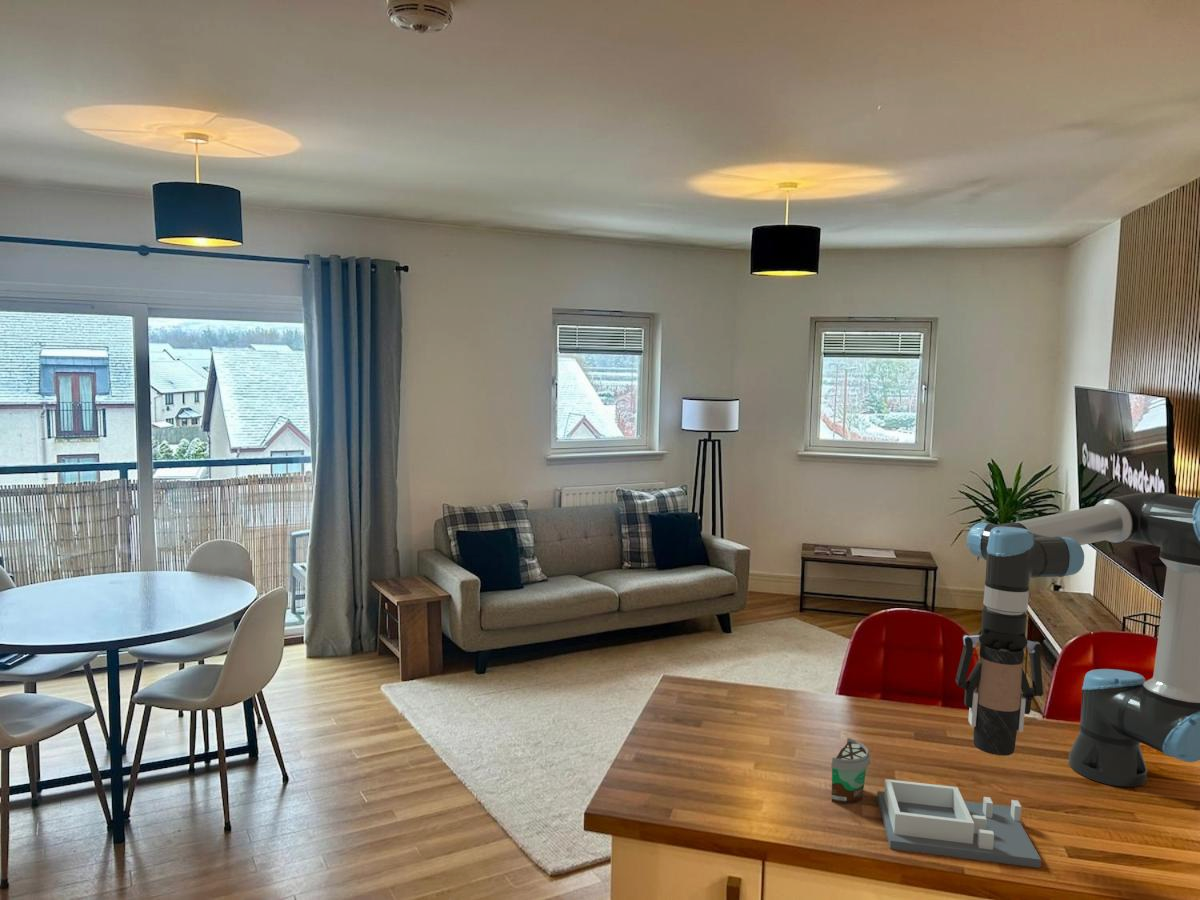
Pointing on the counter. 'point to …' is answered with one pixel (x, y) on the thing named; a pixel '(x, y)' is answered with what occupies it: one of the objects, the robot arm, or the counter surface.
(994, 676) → the travel mug
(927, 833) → the end holder
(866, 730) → the counter surface
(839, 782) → the food container
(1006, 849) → the grey fixture board
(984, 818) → the clips
